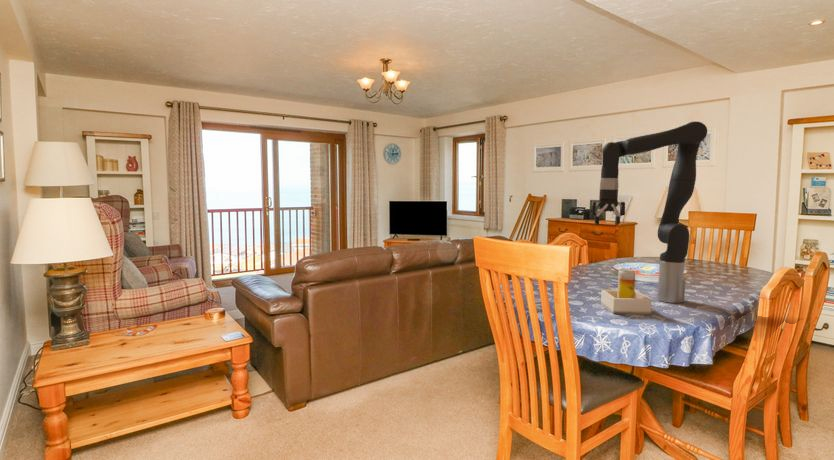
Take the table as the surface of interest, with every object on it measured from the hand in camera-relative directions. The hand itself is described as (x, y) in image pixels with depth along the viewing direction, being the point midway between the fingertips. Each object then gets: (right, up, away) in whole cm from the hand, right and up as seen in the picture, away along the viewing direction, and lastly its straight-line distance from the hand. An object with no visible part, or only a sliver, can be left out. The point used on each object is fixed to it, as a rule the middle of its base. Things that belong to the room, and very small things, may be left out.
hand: (606, 224), depth 202 cm
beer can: (-1, -33, -20) cm, 39 cm away
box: (-1, -34, -20) cm, 40 cm away
